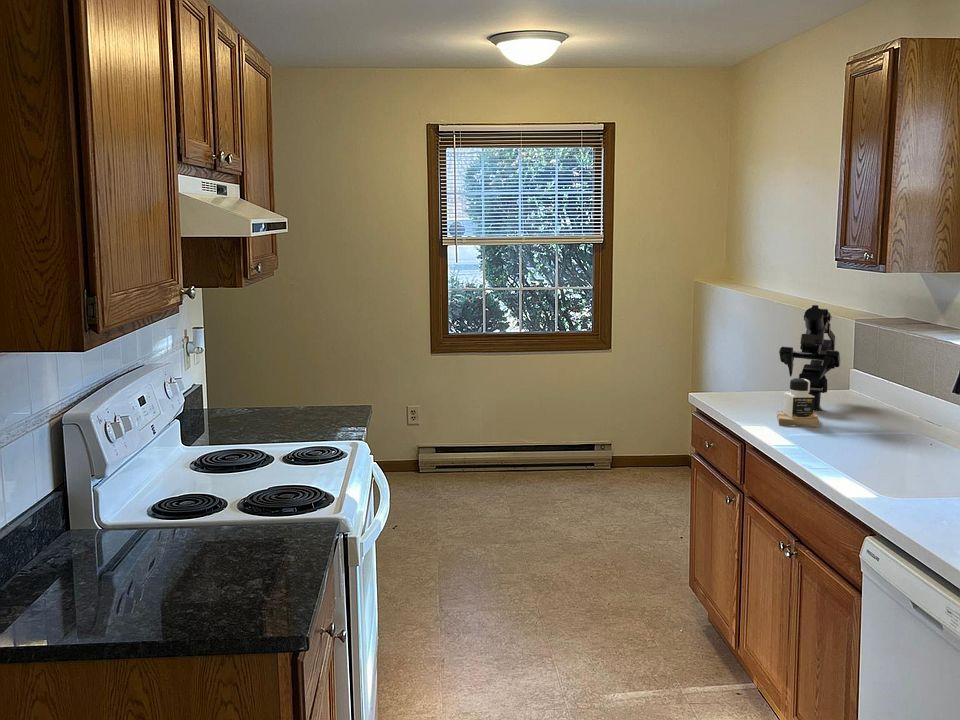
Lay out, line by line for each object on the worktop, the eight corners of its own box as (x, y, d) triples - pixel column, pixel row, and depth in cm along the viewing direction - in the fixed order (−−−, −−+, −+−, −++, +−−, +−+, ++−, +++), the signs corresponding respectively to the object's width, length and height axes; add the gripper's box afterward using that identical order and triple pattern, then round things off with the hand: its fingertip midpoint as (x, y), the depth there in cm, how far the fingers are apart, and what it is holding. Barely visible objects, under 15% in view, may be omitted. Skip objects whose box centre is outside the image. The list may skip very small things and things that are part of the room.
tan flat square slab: (776, 417, 313) (777, 411, 313) (815, 419, 310) (815, 413, 310) (779, 425, 302) (779, 418, 301) (819, 427, 299) (819, 421, 298)
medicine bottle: (792, 418, 302) (794, 381, 300) (782, 413, 309) (784, 377, 307) (813, 418, 303) (816, 381, 301) (803, 413, 310) (806, 377, 308)
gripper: (782, 322, 317) (772, 359, 309) (841, 326, 308) (833, 365, 300) (785, 342, 325) (776, 379, 317) (843, 347, 316) (835, 385, 308)
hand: (804, 377), depth 310 cm, fingers open, 9 cm apart
